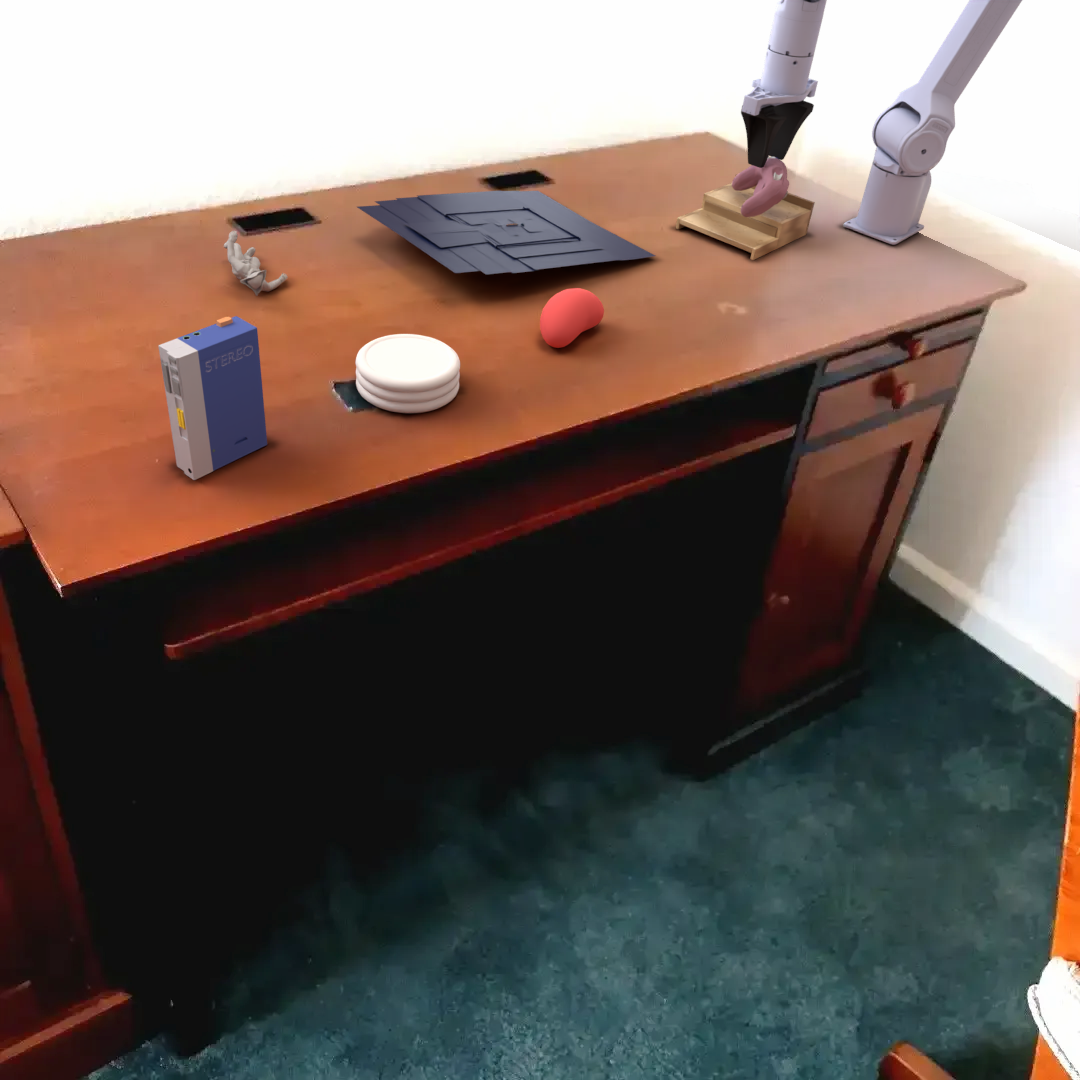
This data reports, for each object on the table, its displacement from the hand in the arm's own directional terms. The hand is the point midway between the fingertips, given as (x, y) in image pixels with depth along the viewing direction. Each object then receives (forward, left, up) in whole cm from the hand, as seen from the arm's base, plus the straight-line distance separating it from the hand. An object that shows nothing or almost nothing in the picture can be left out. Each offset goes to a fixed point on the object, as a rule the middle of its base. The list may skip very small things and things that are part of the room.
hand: (766, 161), depth 138 cm
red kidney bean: (+43, +4, -9) cm, 44 cm away
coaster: (+64, +1, -9) cm, 65 cm away
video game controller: (+1, +1, -5) cm, 6 cm away
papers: (+32, -16, -9) cm, 37 cm away
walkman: (+84, -1, -9) cm, 85 cm away
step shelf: (+2, 0, -9) cm, 9 cm away
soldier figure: (+62, -27, -9) cm, 68 cm away
